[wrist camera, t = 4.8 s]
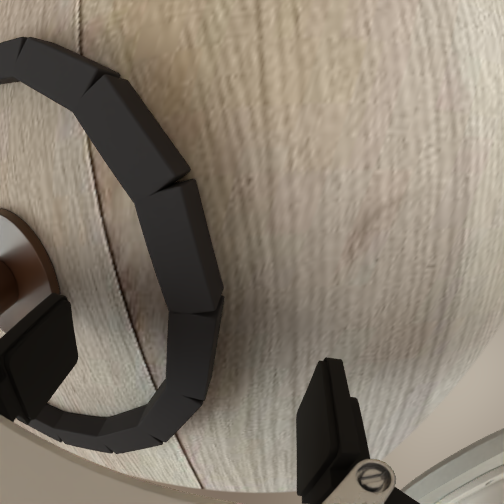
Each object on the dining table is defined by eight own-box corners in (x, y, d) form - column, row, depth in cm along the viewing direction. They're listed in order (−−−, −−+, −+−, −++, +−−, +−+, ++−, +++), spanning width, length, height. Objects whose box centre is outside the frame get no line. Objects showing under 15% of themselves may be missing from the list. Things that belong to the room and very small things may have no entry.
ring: (272, 41, 8) (270, 26, 7) (198, 469, 16) (193, 489, 15) (-76, 79, 9) (-94, 81, 7) (-43, 359, 16) (-53, 369, 15)
